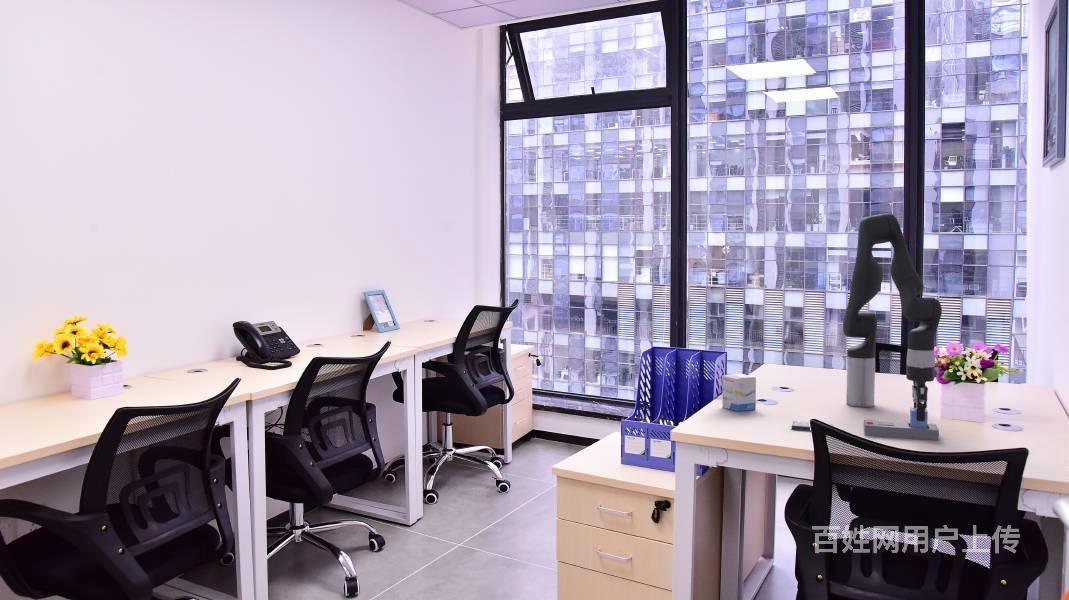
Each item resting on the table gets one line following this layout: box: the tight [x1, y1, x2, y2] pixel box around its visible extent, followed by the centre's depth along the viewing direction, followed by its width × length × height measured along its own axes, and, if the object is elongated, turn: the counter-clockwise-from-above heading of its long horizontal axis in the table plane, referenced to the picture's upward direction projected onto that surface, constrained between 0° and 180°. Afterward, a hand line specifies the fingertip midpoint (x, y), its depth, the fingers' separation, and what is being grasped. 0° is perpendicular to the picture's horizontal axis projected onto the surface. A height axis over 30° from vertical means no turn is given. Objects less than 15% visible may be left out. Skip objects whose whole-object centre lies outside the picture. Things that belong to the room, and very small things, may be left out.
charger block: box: [909, 407, 929, 429], centre depth 234 cm, size 4×4×8 cm
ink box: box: [721, 373, 757, 412], centre depth 275 cm, size 9×8×12 cm
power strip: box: [863, 419, 940, 441], centre depth 236 cm, size 8×20×4 cm, turn 69°
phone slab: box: [791, 420, 834, 432], centre depth 245 cm, size 7×12×1 cm, turn 69°
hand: (919, 417), depth 234 cm, fingers open, 8 cm apart
